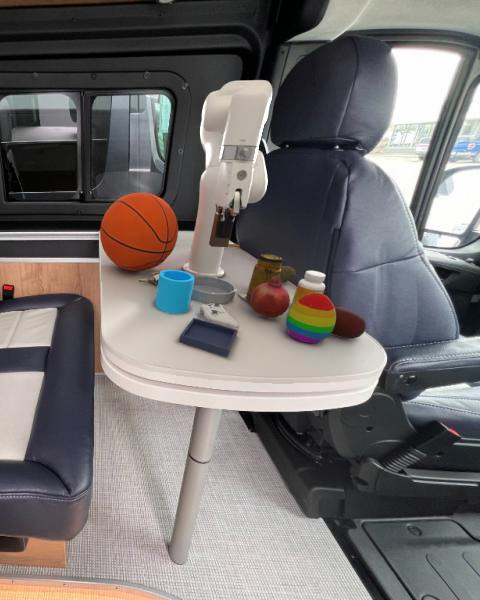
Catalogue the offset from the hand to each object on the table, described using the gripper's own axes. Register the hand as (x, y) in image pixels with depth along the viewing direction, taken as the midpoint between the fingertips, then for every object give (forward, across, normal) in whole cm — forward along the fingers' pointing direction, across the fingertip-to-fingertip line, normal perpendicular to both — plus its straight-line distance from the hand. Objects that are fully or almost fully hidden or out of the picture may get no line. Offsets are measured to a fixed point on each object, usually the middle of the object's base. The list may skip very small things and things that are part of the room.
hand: (220, 235), depth 80 cm
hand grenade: (+13, +14, -29) cm, 35 cm away
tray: (+16, -23, +7) cm, 29 cm away
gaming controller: (+16, -15, +3) cm, 22 cm away
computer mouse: (+16, +6, +11) cm, 21 cm away
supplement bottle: (+17, -6, -22) cm, 28 cm away
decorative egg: (+16, -20, -14) cm, 30 cm away
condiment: (+17, -2, -13) cm, 21 cm away
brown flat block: (+3, 0, -1) cm, 3 cm away
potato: (+10, -17, -23) cm, 30 cm away
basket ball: (+16, +21, +20) cm, 34 cm away
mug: (+17, -6, +11) cm, 21 cm away
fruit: (+17, -11, -10) cm, 22 cm away
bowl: (+16, +1, 0) cm, 16 cm away
